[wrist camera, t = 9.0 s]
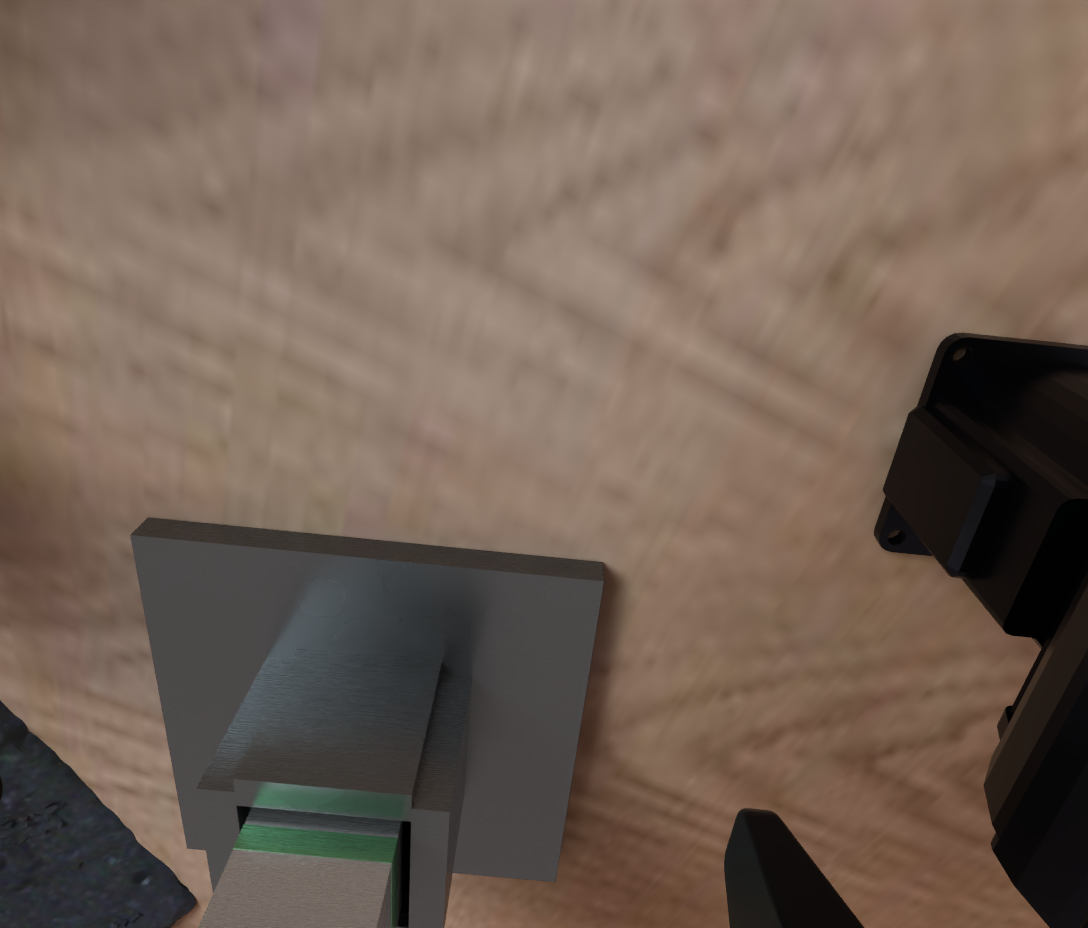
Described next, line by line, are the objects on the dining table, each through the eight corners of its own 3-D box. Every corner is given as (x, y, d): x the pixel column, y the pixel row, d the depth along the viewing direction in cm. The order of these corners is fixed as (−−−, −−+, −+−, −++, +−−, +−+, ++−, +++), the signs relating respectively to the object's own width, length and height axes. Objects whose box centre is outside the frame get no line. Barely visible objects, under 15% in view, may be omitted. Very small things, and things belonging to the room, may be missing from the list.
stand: (602, 562, 23) (613, 705, 17) (555, 858, 29) (552, 1030, 24) (147, 517, 23) (16, 648, 17) (199, 825, 29) (114, 991, 23)
